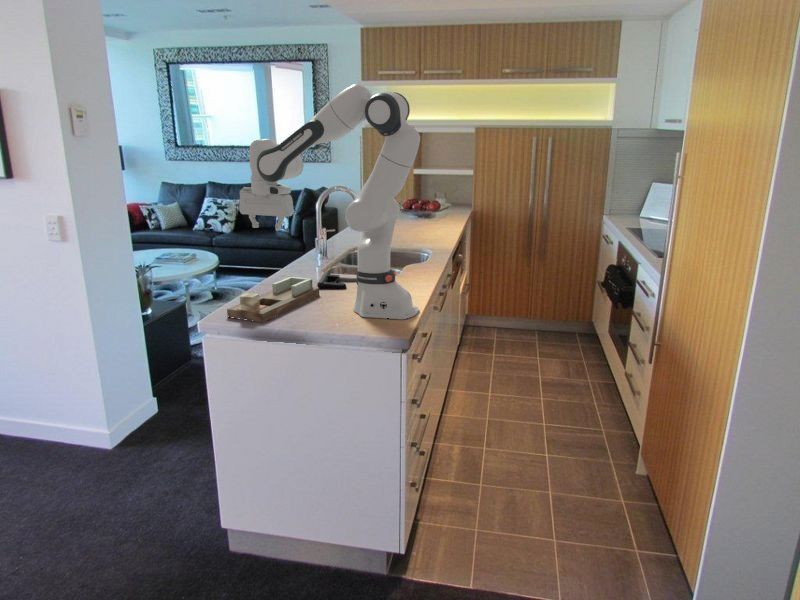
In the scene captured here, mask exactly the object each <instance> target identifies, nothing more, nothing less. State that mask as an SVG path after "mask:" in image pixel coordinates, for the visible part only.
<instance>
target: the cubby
mask: <svg viewBox="0 0 800 600" xmlns="http://www.w3.org/2000/svg"><path fill="white" fill-rule="evenodd" d="M271 286H272V290H273V293H279V292H281V291H283V290H286V289H288V288H291V291H292V295H293V296H296V295H298V294H300V293H303V292H305V291H307V290H309V289H311V288H313V287H314V286H313V278H305V277H299V276H298V277H297V276H288V277H286V278H284V279H280V280H278V281H276V282H273V283H272V285H271Z"/></svg>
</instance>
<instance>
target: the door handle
mask: <svg viewBox="0 0 800 600" xmlns="http://www.w3.org/2000/svg"><path fill="white" fill-rule="evenodd" d="M321 276H322V277H320V279H319V281H318V282H317V283H316V285H315V286H316V287H317V288H319V290H323V289H327V290H330V289H331V290H346V288H347V285H346V283H357V279H356V277H345V276H343V277H342V276H340V274H331V272H329V271H325V272H324V273H323V274H322V275H321Z"/></svg>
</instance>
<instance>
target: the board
mask: <svg viewBox="0 0 800 600" xmlns="http://www.w3.org/2000/svg"><path fill="white" fill-rule="evenodd" d="M312 287H313V288H311V289H309V290H307V291H305V292H303V293H300V294H298V295H296V296H293V295H292V291H291V288H288V289H286V290H283V291H281V292H279V293H273V289H271V290H270V291H268V292H266V293H263V294H259V301H260V305H265V306H267V307H265V308H263V309H261V310H258V311H256V312H249V311H241V310H237V309H238V308H240V307H241V305H240V303H238V304H236V305H233V306H231V307H229V308H227V309H226V315H227V317H228V316H229V317H234V318H240V319H247V320H253V321H252V322H254V321H258V322H257V323H261V322H264V323H266V322H267V320H268V321H270V320H272V319H274V318H276V317H278V316H280V315H282V314H284V312H285V313H286V311H287V312H289V311H291V310H293V309H295V308H297V307H299V306H301V305H303V304H305V303H307V302H309V301H311V300H313V299H316V298H318V297H319V296H320V289H319V288H318V287H314V286H312ZM277 315H278V316H277ZM275 316H276V317H275ZM273 317H274V318H273ZM271 318H272V319H271ZM240 319H239V320H240ZM269 319H270V320H269ZM247 320H246V321H247ZM265 321H266V322H265Z"/></svg>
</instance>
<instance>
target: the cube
mask: <svg viewBox="0 0 800 600" xmlns="http://www.w3.org/2000/svg"><path fill="white" fill-rule="evenodd" d="M259 296H260V293H253V292H246V293H244V294H241V295H240V296H239V302H240V303H239V304H240V305H241V310H250V311H254V310H256V309H257V308H259V307H260V301H259Z"/></svg>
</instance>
